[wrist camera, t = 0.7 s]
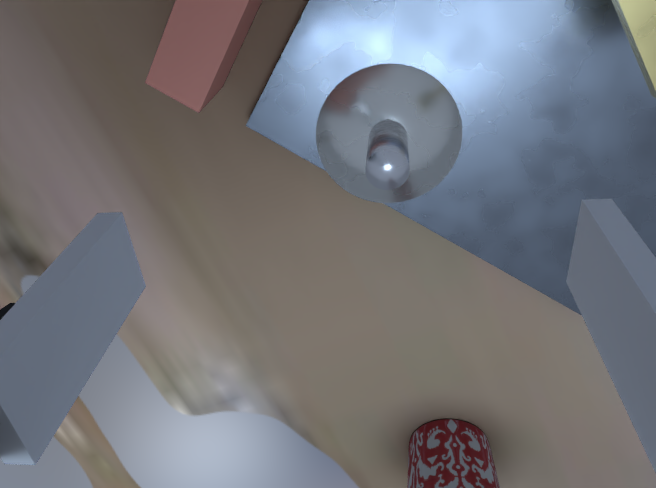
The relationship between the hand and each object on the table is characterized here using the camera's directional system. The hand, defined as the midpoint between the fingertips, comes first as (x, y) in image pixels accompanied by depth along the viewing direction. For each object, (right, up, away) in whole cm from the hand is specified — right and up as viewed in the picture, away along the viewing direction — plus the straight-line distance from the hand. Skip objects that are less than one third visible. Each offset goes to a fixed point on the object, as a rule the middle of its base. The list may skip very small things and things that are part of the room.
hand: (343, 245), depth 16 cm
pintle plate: (+12, +9, +16) cm, 22 cm away
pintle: (+3, +7, +18) cm, 19 cm away
